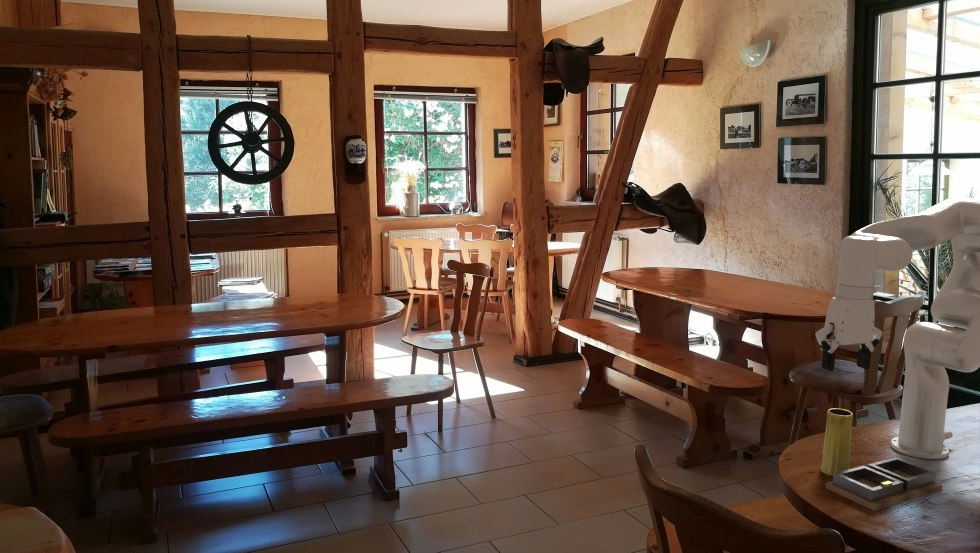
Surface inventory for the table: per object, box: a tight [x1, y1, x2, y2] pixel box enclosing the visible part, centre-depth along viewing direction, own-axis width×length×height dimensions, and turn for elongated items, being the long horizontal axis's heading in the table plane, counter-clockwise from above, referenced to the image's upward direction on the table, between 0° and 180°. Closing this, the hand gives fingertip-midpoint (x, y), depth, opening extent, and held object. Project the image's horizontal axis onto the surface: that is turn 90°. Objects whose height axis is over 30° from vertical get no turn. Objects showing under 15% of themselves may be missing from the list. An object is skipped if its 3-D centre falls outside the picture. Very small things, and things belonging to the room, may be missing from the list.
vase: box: [819, 407, 854, 477], centre depth 182 cm, size 6×6×14 cm
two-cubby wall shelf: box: [832, 456, 937, 502], centre depth 174 cm, size 21×10×3 cm, turn 118°
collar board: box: [825, 470, 943, 512], centre depth 174 cm, size 22×12×1 cm, turn 118°
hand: (845, 368), depth 179 cm, fingers open, 9 cm apart
